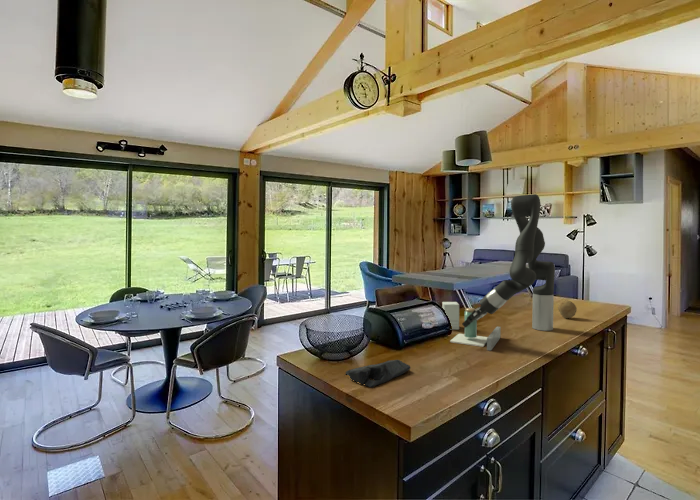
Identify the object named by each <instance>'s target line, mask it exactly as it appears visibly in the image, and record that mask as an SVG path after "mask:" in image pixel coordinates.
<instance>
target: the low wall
mask: <svg viewBox="0 0 700 500" xmlns="http://www.w3.org/2000/svg"><path fill="white" fill-rule="evenodd" d="M501 330H502V329H501V326H495V328H494V329H493V331H491V332H490V334H489V335H488V336H486V337H487V343H486V351H489V352H491V351H492V350H493V349H494V347H495V346H496V344H497V343H498V342H499V340H500V339H501Z"/></svg>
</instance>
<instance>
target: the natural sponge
mask: <svg viewBox="0 0 700 500" xmlns="http://www.w3.org/2000/svg"><path fill="white" fill-rule="evenodd" d="M557 306H558V307H557V309H558V312H559V314H560V315H561V317H563V319H566V318H569V319H571V318H572V317H575V315H576V313H577V312H578V311H577V310H578V309H577V305H576V304H575V303H574V302H573V301H570V300H567V299H566V300H562V301H561V302H559V304H558V305H557Z"/></svg>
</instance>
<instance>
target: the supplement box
mask: <svg viewBox="0 0 700 500" xmlns="http://www.w3.org/2000/svg"><path fill="white" fill-rule="evenodd" d="M441 304H442V306H441V308H443V309H444V310H445V313H446V315H447V316H448V318H449V320H450V323H451V326H452V329H451V330H460V304H459V303H458V302H457V301H442V302H441Z"/></svg>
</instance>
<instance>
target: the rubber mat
mask: <svg viewBox="0 0 700 500" xmlns="http://www.w3.org/2000/svg"><path fill="white" fill-rule="evenodd" d="M487 337H488V336H482V335H477V337H475V338H468V337H465V336H464V333H457V334H456V335H455V336H454V337H453V338H452V339H450V340H449V342H450V343H452V344H453V343H454V344H461V345H468V346H475V347H480V348H481V347H482V348H483V347H484V346H486V345H487Z"/></svg>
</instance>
